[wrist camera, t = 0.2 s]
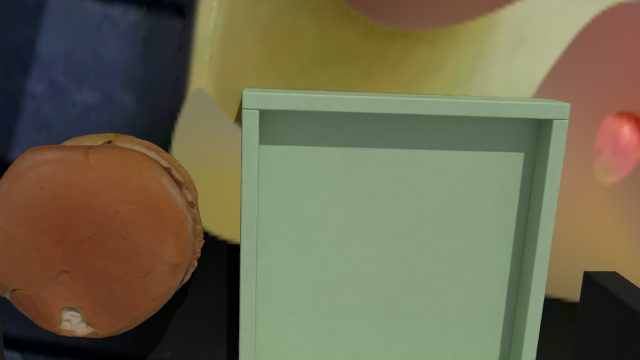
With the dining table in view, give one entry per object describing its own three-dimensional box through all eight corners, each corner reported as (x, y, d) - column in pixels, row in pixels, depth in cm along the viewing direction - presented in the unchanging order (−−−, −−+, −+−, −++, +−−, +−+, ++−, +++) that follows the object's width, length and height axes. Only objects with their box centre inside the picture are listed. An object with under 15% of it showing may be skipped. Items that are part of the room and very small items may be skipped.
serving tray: (244, 88, 29) (241, 91, 27) (552, 99, 30) (572, 103, 28) (240, 374, 33) (238, 396, 31) (516, 373, 34) (530, 394, 32)
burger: (180, 113, 29) (162, 127, 24) (222, 286, 31) (212, 329, 27) (-21, 151, 29) (-77, 173, 24) (36, 322, 31) (-6, 372, 27)
